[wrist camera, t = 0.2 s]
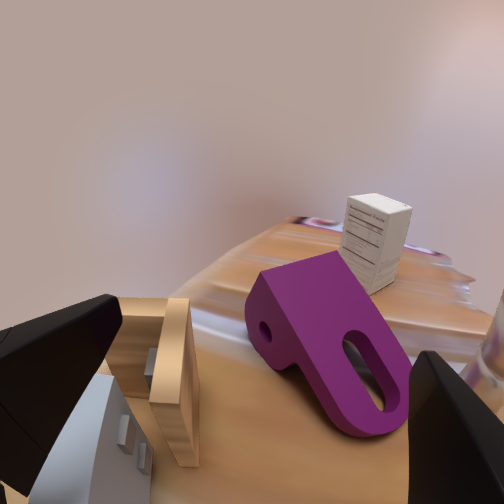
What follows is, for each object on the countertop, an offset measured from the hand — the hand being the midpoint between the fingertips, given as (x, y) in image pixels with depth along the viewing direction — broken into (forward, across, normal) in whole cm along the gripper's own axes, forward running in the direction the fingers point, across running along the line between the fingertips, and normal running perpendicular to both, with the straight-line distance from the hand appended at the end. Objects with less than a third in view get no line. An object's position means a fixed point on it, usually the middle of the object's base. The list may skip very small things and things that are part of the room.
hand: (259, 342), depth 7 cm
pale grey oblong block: (-4, +8, +17) cm, 19 cm away
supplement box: (+34, -11, +16) cm, 39 cm away
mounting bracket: (+14, -5, +17) cm, 23 cm away
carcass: (+4, +9, +16) cm, 19 cm away
